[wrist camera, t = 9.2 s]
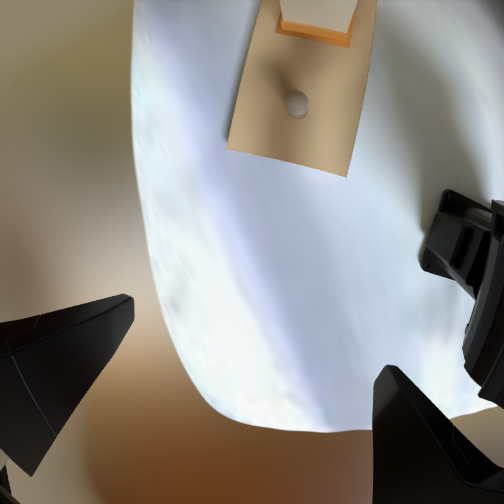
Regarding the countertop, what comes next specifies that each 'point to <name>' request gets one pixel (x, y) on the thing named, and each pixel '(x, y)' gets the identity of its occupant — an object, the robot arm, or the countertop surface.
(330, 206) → the countertop surface
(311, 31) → the sleeve
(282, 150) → the pin board
